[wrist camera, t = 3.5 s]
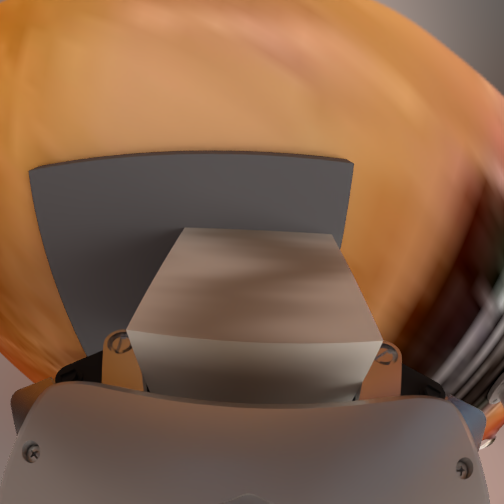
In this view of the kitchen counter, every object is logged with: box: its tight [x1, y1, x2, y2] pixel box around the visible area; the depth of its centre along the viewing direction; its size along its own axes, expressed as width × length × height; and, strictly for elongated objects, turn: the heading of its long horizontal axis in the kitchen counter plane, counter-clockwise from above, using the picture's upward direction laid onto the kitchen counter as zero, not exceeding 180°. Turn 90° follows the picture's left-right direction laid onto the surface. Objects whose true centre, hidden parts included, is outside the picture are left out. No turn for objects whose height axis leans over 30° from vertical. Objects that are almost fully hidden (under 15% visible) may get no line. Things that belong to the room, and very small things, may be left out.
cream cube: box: [126, 227, 383, 404], centre depth 10 cm, size 6×6×6 cm
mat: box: [29, 151, 354, 357], centre depth 16 cm, size 15×24×1 cm, turn 178°
